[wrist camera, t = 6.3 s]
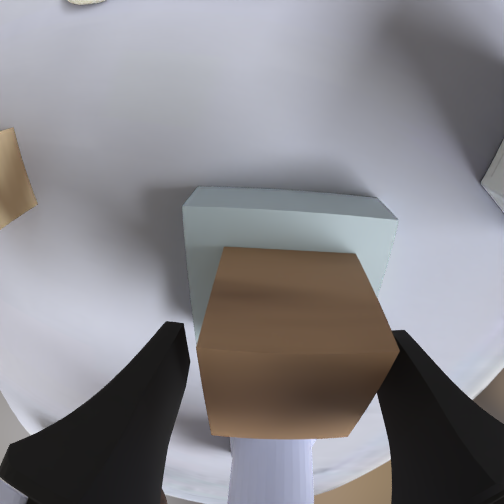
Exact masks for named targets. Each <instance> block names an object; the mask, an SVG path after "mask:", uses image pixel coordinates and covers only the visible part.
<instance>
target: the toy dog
mask: <svg viewBox="0 0 504 504" xmlns="http://www.w3.org/2000/svg"><path fill="white" fill-rule="evenodd" d="M67 1H69V2H70V3H73V4H77V5H86V4H93V3H99V2H103V1H106V0H67Z"/></svg>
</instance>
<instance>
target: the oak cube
mask: <svg viewBox="0 0 504 504" xmlns="http://www.w3.org/2000/svg"><path fill="white" fill-rule="evenodd" d="M36 205H38V203H37V201H36V198H35V195H34V193H33V190H32V187H31V184H30V182H29V179H28V176H27V173H26V170H25V167H24V164H23V160H22V157H21V154H20V150H19V147H18V143H17V140H16V136H15V132H14V128H10V129H6V130H3V131H0V230H1V229H2V228H3V227H5V226H6V225H8V224H9V223H10V222H12V221H13V220H15V219H16V218H18V217H19V216H21V215H22V214H24V213H25V212H27V211H28V210H30V209H31V208H33V207H34V206H36Z"/></svg>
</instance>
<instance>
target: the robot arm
mask: <svg viewBox="0 0 504 504" xmlns="http://www.w3.org/2000/svg"><path fill="white" fill-rule="evenodd" d="M392 333H393V336H394V338H395V340H396V343H397V345H398V348H399V350H400V352H399V354H398V356H397V357H396V359H395V361H394V363H393V365H392V367H391V369H390V370H389V372H388V374H387V376H386V377H385V379H384V381H383V383H382V384H381V386H380V388H379V389H378V391H377V395H378V399H379V403H380V407H381V411H382V415H383V419H384V423H385V427H386V431H387V436H388V440H389V446H390V454H391V467H392V502H391V504H504V424H503V423H501V422H499V421H498V420H497V419H495V418H494V417H493V416H491V415H490V414H488V413H487V412H486V411H484V410H483V409H482V408H481V407H479V406H478V405H477V404H476V403H475V402H474V401H472V400H471V399H470V398H469V397H468V396H467V395H466V394H465V393H464V392H462V391H461V390H460V389H459V388H458V387H457V386H456V385H455V384H454V383H453V382H452V381H451V380H450V379H449V377H448V376H447V375H446V374H445V373H444V372H443V371H442V370H441V369H440V368H439V367H438V366H437V365H436V364H435V362H434V361H433V360H432V359H431V358H430V357H429V356H428V355H427V354H426V352H425V351H424V350H423V349H422V348H421V347H420V346H419V345H418V344H417V343H416V341H415V340H414V339H413V338H412V337H411V336H410V335H409V334H408V333H407V332H406V331H405V330H394V331H392ZM189 366H190V357H189V352H188V346H187V341H186V335H185V329H184V323H177V322H169V321H167V322H165V323H164V324H163V325H162V327H161V328H160V329H159V330H158V331H157V332H156V334H155V335H154V336H153V337H152V338H151V339H150V341H149V342H148V343H147V344H146V345H145V346H144V347H143V348H142V350H141V351H140V352H139V353H138V354H137V355H136V356H135V357H134V358H133V359H132V360H131V361H130V363H129V364H128V365H127V366H126V367H125V368H124V369H123V370H122V371H121V372H120V373H119V374H118V375H117V376H115V377H114V378H113V379H112V380H111V381H110V382H109V383H108V384H107V385H106V386H105V387H104V388H103V389H101V390H100V391H99V392H98V393H97V394H96V395H94V396H93V397H92V398H91V399H89V400H88V401H87V402H86V403H84V404H83V405H81V406H80V407H79V408H77V409H76V410H75V411H73V412H72V413H70V414H69V415H67V416H66V417H64V418H63V419H61V420H59V421H57V422H56V423H54V424H52V425H50V426H49V427H47V428H45V429H43V430H42V431H40V432H38V433H35V434H33V435H31V436H29V437H27V438H24V439H22V440H19V441H17V442H15V443H12V444H10V445H9V447H8V449H7V452H6V454H5V457H4V459H3V461H2V463H1V466H0V477H1V478H2V479H3V480H4V481H6V482H7V483H8V484H10V485H11V486H10V485H8V484H7V483H5V482H3V481H2V480H0V504H160V499H161V489H162V481H163V474H164V467H165V461H166V455H167V449H168V445H169V441H170V437H171V433H172V430H173V427H174V423H175V420H176V417H177V414H178V410H179V407H180V404H181V401H182V397H183V394H184V391H185V387H186V383H187V377H188V372H189ZM315 441H316V439H252V438H237V437H230V445H231V456H232V465H231V475H230V484H229V493H228V502H227V504H314V488H313V463H312V446H313V444H314V442H315ZM13 487H14V488H15V489H14V488H13ZM16 489H17V490H16Z"/></svg>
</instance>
